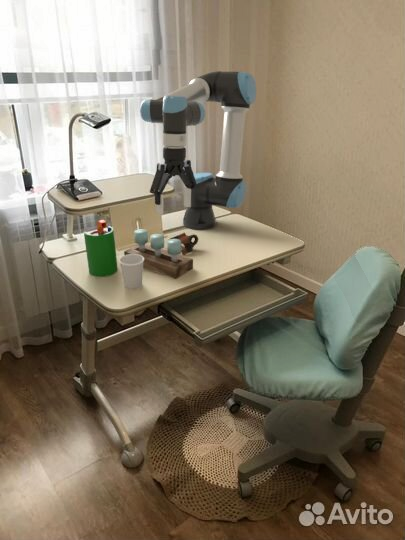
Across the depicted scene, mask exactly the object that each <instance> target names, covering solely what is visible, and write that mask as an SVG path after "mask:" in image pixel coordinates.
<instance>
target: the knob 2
mask: <svg viewBox="0 0 405 540" xmlns="http://www.w3.org/2000/svg"><path fill="white" fill-rule="evenodd" d="M149 238H150V239H149V240H150V243H149V245H151V248H152V249H154V252H155V257H158V258H160V257H161V249H164V248H165V236H164V234H162V233H153V234H151V235H149Z"/></svg>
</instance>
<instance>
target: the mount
mask: <svg viewBox="0 0 405 540" xmlns="http://www.w3.org/2000/svg"><path fill="white" fill-rule="evenodd" d="M128 254H138V255H141V256H143V257H144V262H143V269H147V270H150V271H153V272H156V273H158V274H161V275H164V276H167V277H169V278H172V279H175V280H177V279H178V278H180V277H182V276H183V275H185V274H187V273H188V272H190V271H193V268H194V259H193V258H192V257H188V256H185V255H182V254H178V263H173V262H171V254H168V252H167V250H166V249H164V248H162V249H161V257H160V258H158V257H155V252H154V249H152V248H151V244H148V243H145V252H140V251H139V246H138V244H137V245H135V246H132V247H130V248H128V249H126V250H124V251H123V256H124V255H128Z"/></svg>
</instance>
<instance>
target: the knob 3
mask: <svg viewBox="0 0 405 540" xmlns="http://www.w3.org/2000/svg"><path fill="white" fill-rule="evenodd" d="M169 239H170V238H169ZM169 239H168V240H167V241H166V246H167V247H166V249H167V252H168V254H171V262H173V263H178V254H179V255H181V254H182V252H181V250H182V244H181V240H179V239H170V240H169Z"/></svg>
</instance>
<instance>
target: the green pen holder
mask: <svg viewBox="0 0 405 540" xmlns="http://www.w3.org/2000/svg"><path fill="white" fill-rule="evenodd" d="M106 228H107V230H105V229H106ZM96 229H97V230H93V231H92V232H91V231H90V233H87V231H83V236H84V243H85V251H86V258H87V266H88V272H89V274H90V275H91V276H92V277H98V278H100V277H101V278H102V277H103V278H104V277H109V276H113V275H114V274H116V273H118V269H119V268H118V261H117V259H118V258H117V249H116V239H115V232H114V227H113V226H110V225H108V226H107V221H106V220H105V219H100V220H97V223H96Z"/></svg>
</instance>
